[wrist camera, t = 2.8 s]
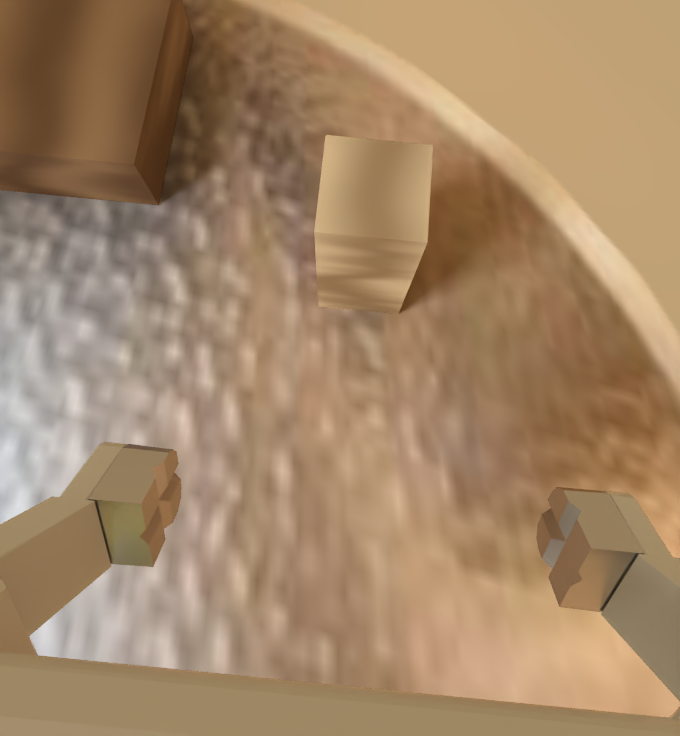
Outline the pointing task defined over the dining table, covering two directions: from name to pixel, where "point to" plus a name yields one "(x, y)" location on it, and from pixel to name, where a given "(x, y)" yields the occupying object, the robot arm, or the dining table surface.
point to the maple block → (371, 221)
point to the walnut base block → (90, 95)
